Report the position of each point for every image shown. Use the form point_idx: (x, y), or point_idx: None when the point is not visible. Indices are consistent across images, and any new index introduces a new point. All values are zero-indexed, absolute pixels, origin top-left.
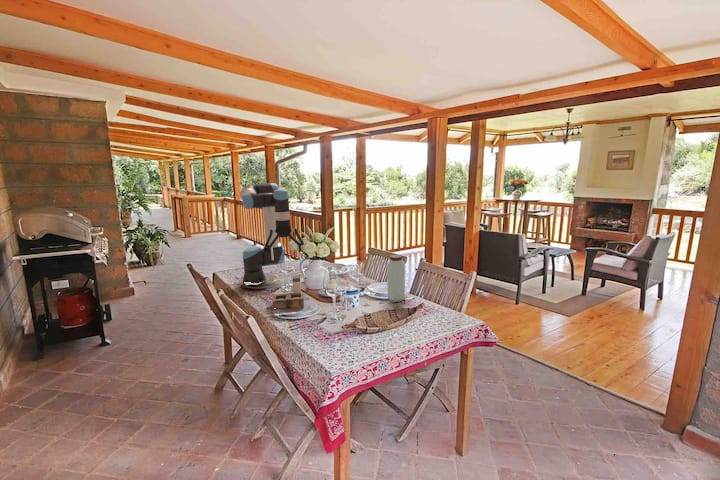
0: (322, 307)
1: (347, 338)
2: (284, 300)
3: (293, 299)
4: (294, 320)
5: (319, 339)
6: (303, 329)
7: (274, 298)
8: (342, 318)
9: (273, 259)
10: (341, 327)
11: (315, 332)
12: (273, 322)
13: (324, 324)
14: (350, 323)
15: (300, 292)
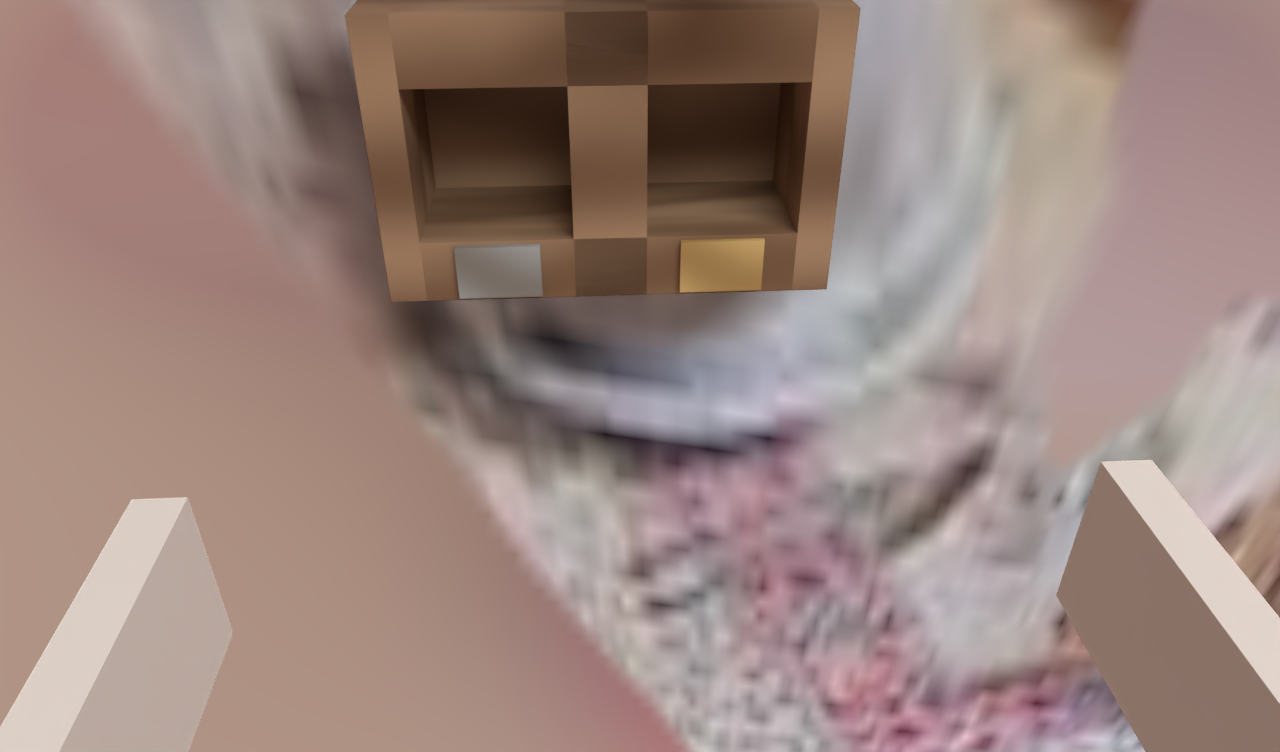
0: (1023, 210)
1: (1033, 744)
2: (560, 295)
3: (688, 292)
4: (676, 466)
5: (849, 738)
6: (750, 617)
7: (395, 199)
8: None
9: (209, 562)
10: (1052, 624)
11: (838, 663)
12: (468, 475)
13: (936, 568)
14: None
15: (810, 13)
